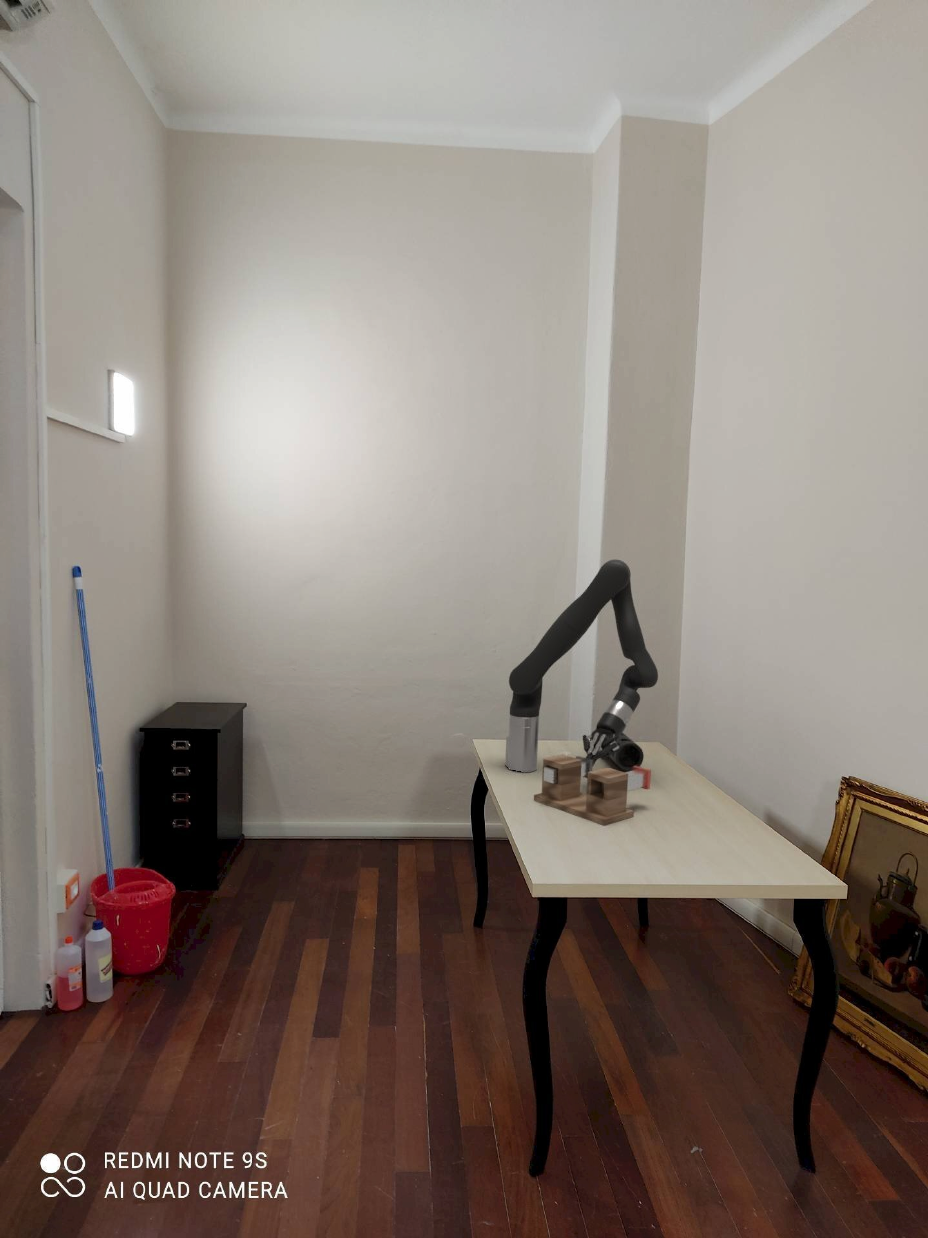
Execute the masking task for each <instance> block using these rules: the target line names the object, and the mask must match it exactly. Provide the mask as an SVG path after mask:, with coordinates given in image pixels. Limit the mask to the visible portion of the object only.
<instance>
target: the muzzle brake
mask: <svg viewBox="0 0 928 1238" xmlns="http://www.w3.org/2000/svg"><path fill="white" fill-rule="evenodd" d="M616 743H617V745H618V746H619V748H620V750H619V751H617V752H615V753H614V754H612V755H610V756H608V758H609V759H610V760H612V761H613V762H614V763H615V764H616V765H617V767H619V768H620V769H621V770H623V772H629V771H633V766H638V767H641V765H642V764H643V762H644V756H645V755H644V751H643V749H642V747H641V746H639V745H638V744H637V743H636V742H634V741H633V740H632V739H631V738H630V737H628V736H627V735H626V734H625V733H624V731H623V732H622V734H621V736H620V738H618V739H617V742H616ZM606 753H607V752H606Z"/></svg>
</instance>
